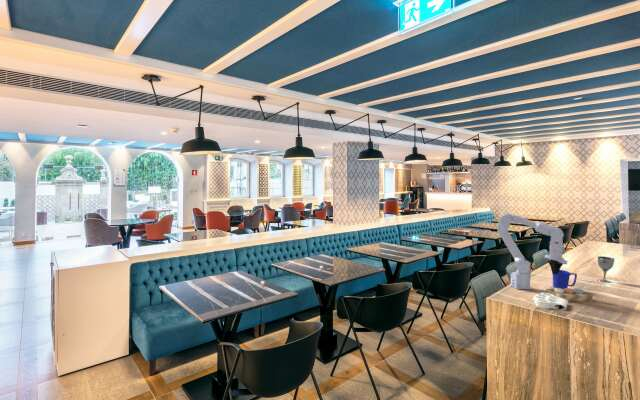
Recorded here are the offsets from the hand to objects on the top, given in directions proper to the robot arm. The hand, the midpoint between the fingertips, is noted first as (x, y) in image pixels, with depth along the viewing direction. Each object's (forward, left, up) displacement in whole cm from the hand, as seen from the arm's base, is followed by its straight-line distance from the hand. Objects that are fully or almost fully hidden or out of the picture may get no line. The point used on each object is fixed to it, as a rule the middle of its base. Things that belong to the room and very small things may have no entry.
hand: (555, 274), depth 181 cm
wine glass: (+51, +26, -11) cm, 58 cm away
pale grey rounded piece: (-3, -8, -9) cm, 12 cm away
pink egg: (+2, -8, -9) cm, 12 cm away
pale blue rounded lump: (+7, -8, -9) cm, 14 cm away
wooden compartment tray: (+2, -8, -10) cm, 13 cm away
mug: (+12, +8, -11) cm, 18 cm away
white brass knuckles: (-15, -18, -11) cm, 26 cm away
